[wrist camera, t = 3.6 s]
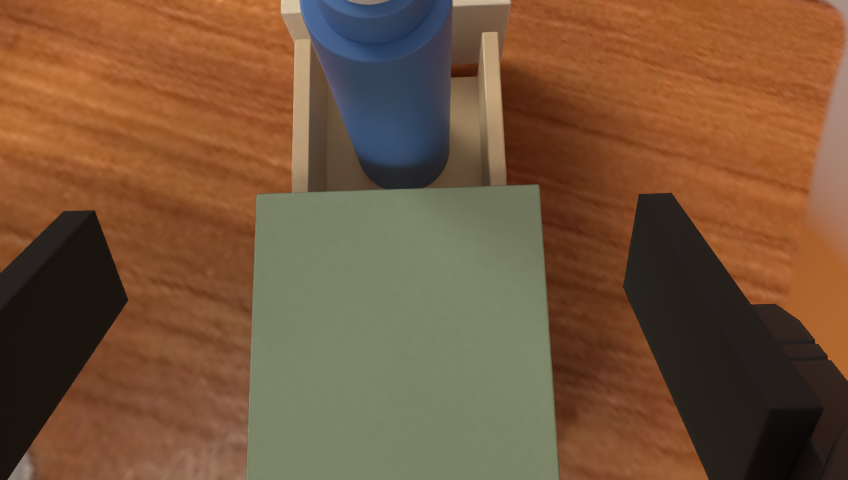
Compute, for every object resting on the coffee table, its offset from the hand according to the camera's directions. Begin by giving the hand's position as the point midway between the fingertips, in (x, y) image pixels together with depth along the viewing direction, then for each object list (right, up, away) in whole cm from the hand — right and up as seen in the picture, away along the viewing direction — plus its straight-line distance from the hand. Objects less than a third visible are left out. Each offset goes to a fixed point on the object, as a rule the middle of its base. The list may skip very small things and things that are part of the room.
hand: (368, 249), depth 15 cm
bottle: (0, +5, +18) cm, 19 cm away
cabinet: (+1, -6, +18) cm, 19 cm away
